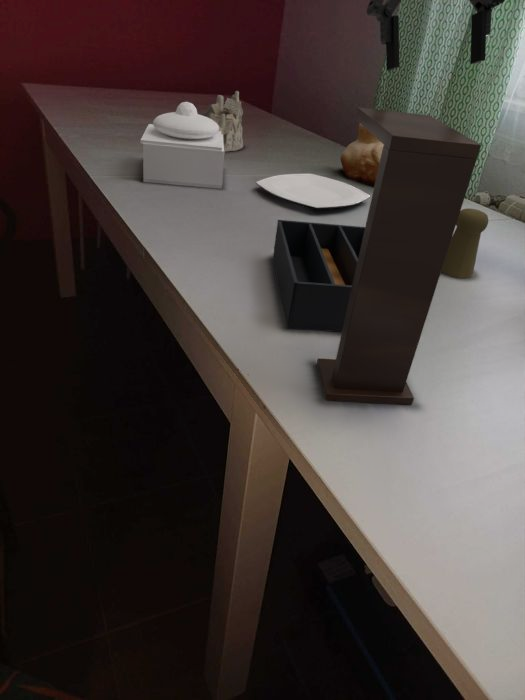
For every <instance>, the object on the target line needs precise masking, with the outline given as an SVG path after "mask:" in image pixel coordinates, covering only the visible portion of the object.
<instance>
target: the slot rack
mask: <svg viewBox="0 0 525 700" xmlns="http://www.w3.org/2000/svg"><path fill="white" fill-rule="evenodd" d="M276 224H277V225H276V232H275V240H274V245H273V246H274V247H273V255H272V260H273V264H274V270H275V275H276V280H277V285H278V289H279V294H280V295H279V296H280V299H281V305H282V310H283V314H284V320H285V325H286V328H287V329H293V330H311V331H322V332H323V331H325V332H338V333H339V332H340V333H342V329H343V325H344V320H345V316H346V311H347V307H348V302H349V298H350V293H351V289H352V285H353V280H354V276H355V271H356V267H357V262H358V258H359V253H360V249H361V244H362V240H363V235H364V231H365V226H357V225H347V224H346V225H345V224H333V223H320V222H309V221H297V220H289V219H288V220H287V219H277V223H276ZM322 249H328V250H329V252H330V254H331V256H332V258H333V261H334V263H335V265H336V267H337V269H338V271H339V273H340V275H341V277H342V279H343V281H344V283H345V285H338V284H335V282H334V279H333V277H332V274H331V272H330V269H329V267H328V264H327V262H326V259H325V257H324V254H323V252H322Z"/></svg>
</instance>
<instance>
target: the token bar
mask: <svg viewBox="0 0 525 700" xmlns="http://www.w3.org/2000/svg"><path fill="white" fill-rule="evenodd" d="M322 252H323V254H324V257H325V259H326V262H327V264H328V267H329V269H330V272H331V274H332V277H333V279H334V282H335V284H338V285H345V283H344V281H343V279H342V277H341V275H340V273H339V271H338V269H337V267H336V265H335V263H334V261H333V258H332V256H331V254H330V252H329V250H328V249H322Z"/></svg>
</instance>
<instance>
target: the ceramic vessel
mask: <svg viewBox="0 0 525 700" xmlns="http://www.w3.org/2000/svg"><path fill="white" fill-rule="evenodd" d="M383 146H384V144H382V143H381V142H380V141H379V140H378V139H377V138H376V137H375V136H374V135H373V134H371V133H370V132H369V131H368V130H367V129H366V128H365V127H364V126H363V125H361V124H360V123H359V124H358V135H357V139H356V140H354V141H353V142H351V143H349V144H348V145H347V146H346V148H344V150H342V153H341V155H340V163H341V167H342V172H343V174H345V176H346V177H347V178H348V179H350V180H353V181H356V182H360V183H363V184H365V185H366V184H367V185H370V186H373V187H374V186H375V181H376V177H377V172H378V168H379V163H380V159H381V154H382V150H383Z"/></svg>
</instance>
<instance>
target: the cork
mask: <svg viewBox="0 0 525 700" xmlns="http://www.w3.org/2000/svg"><path fill="white" fill-rule="evenodd" d="M488 225H489V215H488V214H487V213H486V212H484V211H482V210H480V209H476V208H469V207H468V208H463V209H462V208H461V210H460V214H459V217H458V220H457V223H456V226H455V229H454V233H453V236H452V239H451V242H450V245H449V248H448V251H447V255H446V258H445V261H444V264H443V267H442V270H441V273H443V274H445V275H447V276H450V277H453V278H456V279H457V278H458V279H469V278H472V277H473V276H474V270H475V266H476V265H475V264H476V260H477V256H478V250H479V246H480V245H479V244H480V240H481V235H482V233H483V232H484V231H485V230H486V229H487V227H488Z"/></svg>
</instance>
